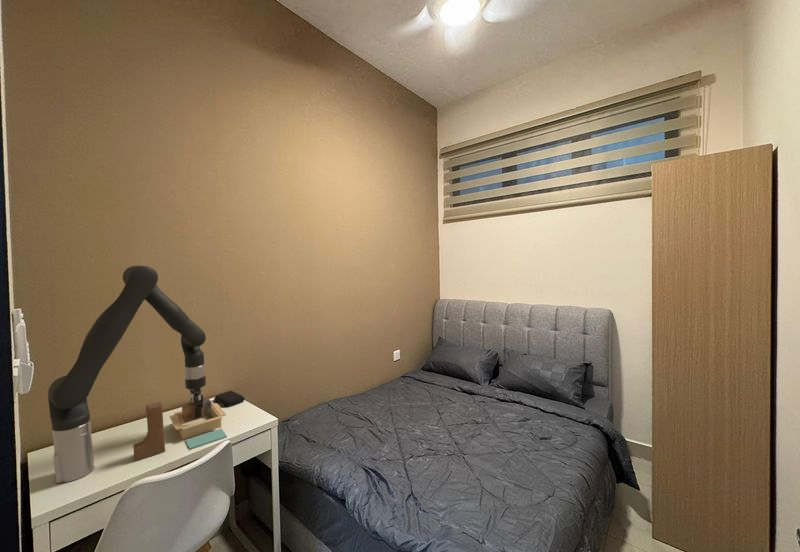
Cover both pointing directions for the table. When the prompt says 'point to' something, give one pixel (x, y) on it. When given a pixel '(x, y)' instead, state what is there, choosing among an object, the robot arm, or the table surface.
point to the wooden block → (152, 433)
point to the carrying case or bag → (229, 398)
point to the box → (189, 410)
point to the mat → (205, 438)
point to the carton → (200, 426)
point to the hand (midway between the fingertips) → (197, 414)
